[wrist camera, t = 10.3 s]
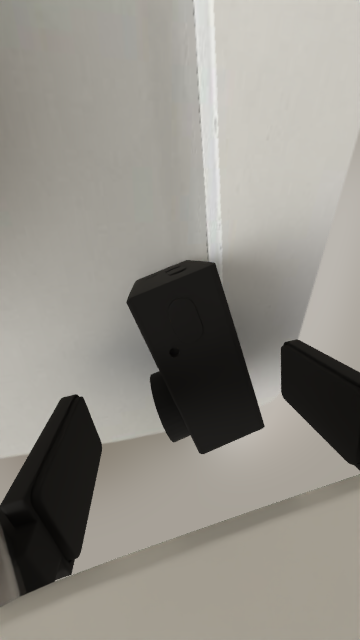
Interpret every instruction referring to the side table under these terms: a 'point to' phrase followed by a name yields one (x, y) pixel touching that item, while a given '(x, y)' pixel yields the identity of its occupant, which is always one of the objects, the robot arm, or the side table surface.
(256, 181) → the side table surface
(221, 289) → the digital camera
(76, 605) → the robot arm
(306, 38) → the side table surface
